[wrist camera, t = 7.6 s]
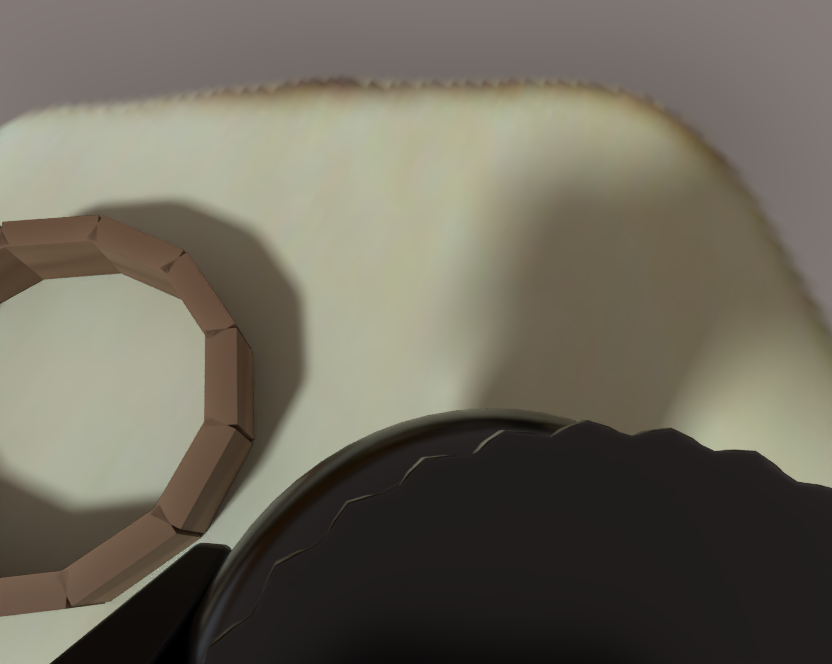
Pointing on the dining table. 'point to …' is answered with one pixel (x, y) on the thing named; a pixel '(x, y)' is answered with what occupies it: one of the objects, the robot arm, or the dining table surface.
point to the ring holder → (211, 448)
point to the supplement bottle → (527, 553)
